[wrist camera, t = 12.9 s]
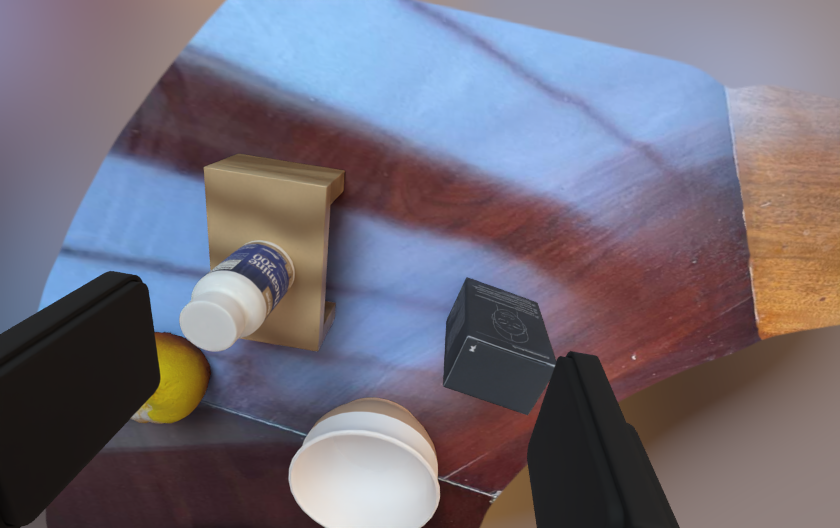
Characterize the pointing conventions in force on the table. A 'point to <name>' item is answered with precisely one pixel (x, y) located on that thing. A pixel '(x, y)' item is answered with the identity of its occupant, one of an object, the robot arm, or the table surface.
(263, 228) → the shelf
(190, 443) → the table surface
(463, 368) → the box
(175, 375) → the fruit
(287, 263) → the pill bottle
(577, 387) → the robot arm
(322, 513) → the bowl
